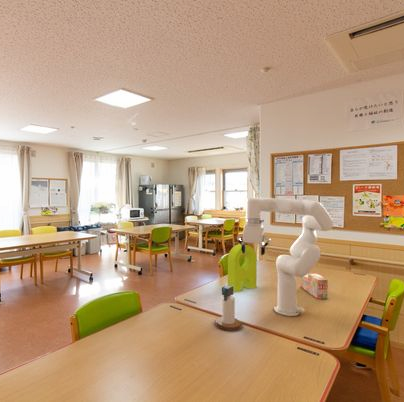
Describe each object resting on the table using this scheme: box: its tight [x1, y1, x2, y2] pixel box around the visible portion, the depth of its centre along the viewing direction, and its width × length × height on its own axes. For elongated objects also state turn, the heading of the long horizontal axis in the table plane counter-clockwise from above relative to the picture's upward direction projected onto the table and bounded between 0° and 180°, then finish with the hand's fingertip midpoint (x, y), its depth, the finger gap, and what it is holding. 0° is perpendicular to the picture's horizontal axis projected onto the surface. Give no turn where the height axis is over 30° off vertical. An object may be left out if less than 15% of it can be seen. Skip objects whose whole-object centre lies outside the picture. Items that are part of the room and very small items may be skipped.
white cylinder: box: [216, 284, 241, 329], centre depth 145 cm, size 12×12×19 cm
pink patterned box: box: [300, 273, 329, 300], centre depth 190 cm, size 21×6×12 cm, turn 179°
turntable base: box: [214, 319, 243, 332], centre depth 146 cm, size 13×13×1 cm
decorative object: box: [227, 243, 258, 293], centre depth 199 cm, size 20×7×30 cm, turn 118°
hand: (253, 253), depth 153 cm, fingers open, 9 cm apart
